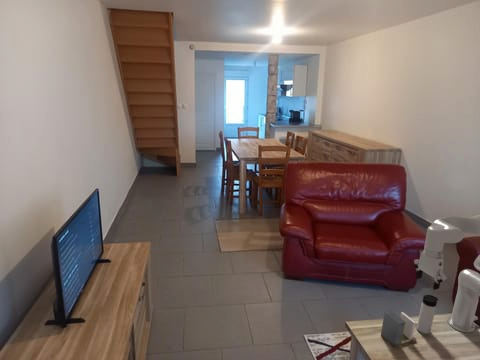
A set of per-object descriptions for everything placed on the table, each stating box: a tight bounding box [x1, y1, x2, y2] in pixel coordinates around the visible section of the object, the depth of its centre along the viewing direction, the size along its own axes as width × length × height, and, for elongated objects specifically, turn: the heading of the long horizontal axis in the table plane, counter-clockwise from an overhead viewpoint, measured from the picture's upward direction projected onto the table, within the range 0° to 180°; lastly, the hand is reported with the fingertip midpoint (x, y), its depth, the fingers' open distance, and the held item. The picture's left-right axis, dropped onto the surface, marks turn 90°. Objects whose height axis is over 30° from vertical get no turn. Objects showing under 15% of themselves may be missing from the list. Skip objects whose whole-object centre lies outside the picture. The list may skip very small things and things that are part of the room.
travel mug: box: [416, 294, 439, 336], centre depth 176 cm, size 6×7×20 cm
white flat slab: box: [399, 311, 416, 341], centre depth 172 cm, size 1×9×10 cm, turn 21°
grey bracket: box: [380, 310, 417, 349], centre depth 171 cm, size 14×9×14 cm, turn 111°
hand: (427, 283), depth 167 cm, fingers open, 9 cm apart
